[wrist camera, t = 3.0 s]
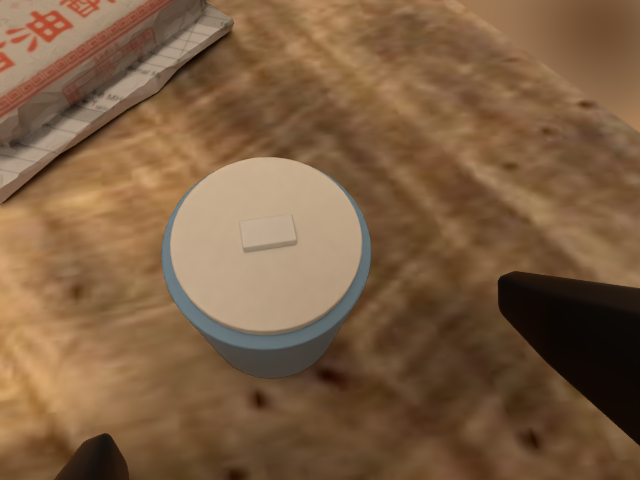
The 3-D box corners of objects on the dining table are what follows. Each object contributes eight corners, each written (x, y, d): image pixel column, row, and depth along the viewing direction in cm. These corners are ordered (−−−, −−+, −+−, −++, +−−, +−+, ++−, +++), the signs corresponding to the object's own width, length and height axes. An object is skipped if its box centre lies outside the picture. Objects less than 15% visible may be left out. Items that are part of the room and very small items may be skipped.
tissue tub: (346, 260, 22) (386, 158, 13) (329, 389, 19) (366, 363, 11) (225, 239, 22) (188, 123, 13) (190, 365, 19) (116, 321, 11)
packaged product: (109, -111, 25) (228, -38, 24) (134, -32, 30) (236, 35, 28) (-204, 38, 19) (-72, 156, 17) (-112, 111, 23) (0, 211, 21)
